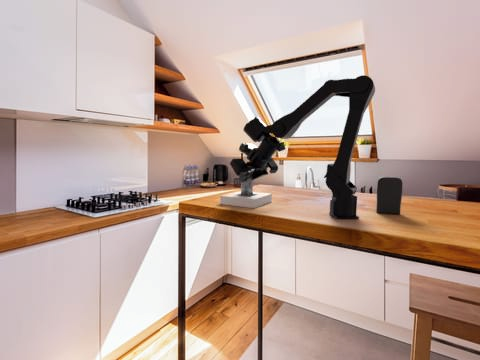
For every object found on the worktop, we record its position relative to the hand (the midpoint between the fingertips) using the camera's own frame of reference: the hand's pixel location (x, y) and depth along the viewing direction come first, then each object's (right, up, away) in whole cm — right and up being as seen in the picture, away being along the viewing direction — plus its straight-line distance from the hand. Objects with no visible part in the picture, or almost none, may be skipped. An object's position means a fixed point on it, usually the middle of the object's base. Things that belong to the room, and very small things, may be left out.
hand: (244, 181), depth 102 cm
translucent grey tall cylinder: (+1, -7, 0) cm, 7 cm away
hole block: (+1, -8, 0) cm, 8 cm away
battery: (+45, -10, -16) cm, 49 cm away
